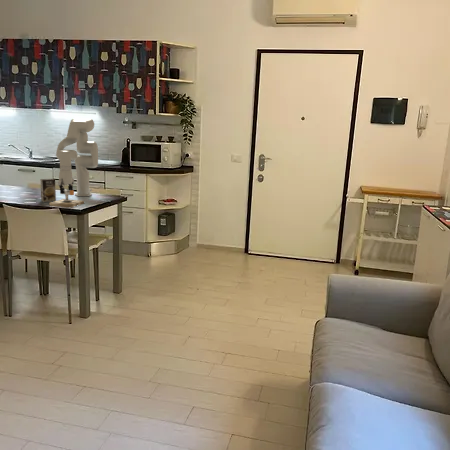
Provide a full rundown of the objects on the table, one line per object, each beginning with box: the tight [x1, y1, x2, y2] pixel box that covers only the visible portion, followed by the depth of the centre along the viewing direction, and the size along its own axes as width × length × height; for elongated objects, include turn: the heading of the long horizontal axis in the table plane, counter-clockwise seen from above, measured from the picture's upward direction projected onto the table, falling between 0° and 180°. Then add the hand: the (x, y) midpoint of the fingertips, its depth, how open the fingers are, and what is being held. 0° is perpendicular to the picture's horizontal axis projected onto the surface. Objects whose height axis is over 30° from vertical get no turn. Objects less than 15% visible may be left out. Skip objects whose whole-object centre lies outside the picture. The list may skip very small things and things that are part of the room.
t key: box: [59, 189, 75, 202], centre depth 333 cm, size 10×4×8 cm, turn 74°
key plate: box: [48, 198, 85, 208], centre depth 334 cm, size 17×17×2 cm
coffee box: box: [40, 178, 57, 203], centre depth 342 cm, size 9×6×16 cm
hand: (66, 192), depth 332 cm, fingers open, 9 cm apart
